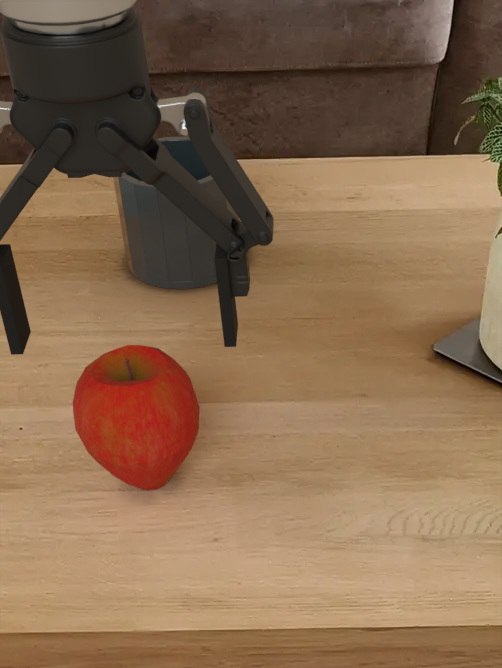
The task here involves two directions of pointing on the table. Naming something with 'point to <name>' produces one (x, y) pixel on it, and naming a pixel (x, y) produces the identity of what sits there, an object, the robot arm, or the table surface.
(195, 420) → the apple
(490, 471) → the table surface
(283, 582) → the table surface
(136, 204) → the dark gray cup
